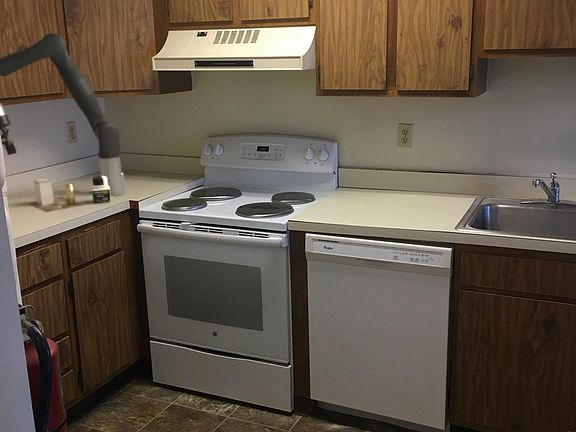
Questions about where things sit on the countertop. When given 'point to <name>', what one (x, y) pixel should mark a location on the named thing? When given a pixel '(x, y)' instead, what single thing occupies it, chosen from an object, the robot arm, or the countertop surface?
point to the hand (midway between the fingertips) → (12, 153)
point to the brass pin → (70, 194)
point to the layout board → (54, 204)
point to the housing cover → (43, 191)
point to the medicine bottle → (101, 190)
